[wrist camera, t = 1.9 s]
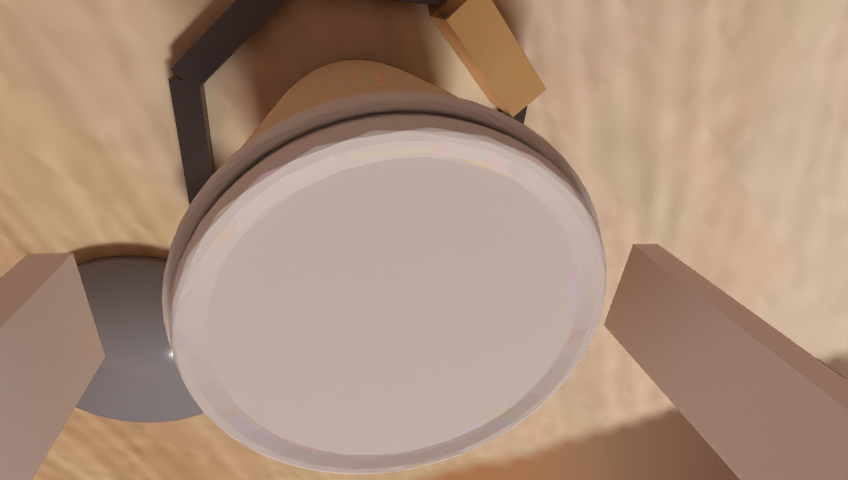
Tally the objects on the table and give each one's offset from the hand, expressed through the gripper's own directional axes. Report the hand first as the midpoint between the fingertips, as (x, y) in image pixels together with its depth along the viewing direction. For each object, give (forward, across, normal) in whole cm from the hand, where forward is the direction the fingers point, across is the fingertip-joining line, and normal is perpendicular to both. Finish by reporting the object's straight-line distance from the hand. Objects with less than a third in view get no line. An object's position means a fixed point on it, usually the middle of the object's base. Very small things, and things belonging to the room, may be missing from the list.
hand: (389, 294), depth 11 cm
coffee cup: (+10, 0, 0) cm, 10 cm away
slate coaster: (+10, -10, -10) cm, 17 cm away
